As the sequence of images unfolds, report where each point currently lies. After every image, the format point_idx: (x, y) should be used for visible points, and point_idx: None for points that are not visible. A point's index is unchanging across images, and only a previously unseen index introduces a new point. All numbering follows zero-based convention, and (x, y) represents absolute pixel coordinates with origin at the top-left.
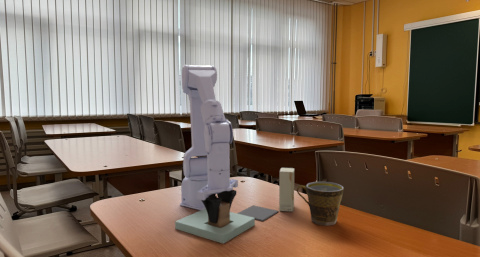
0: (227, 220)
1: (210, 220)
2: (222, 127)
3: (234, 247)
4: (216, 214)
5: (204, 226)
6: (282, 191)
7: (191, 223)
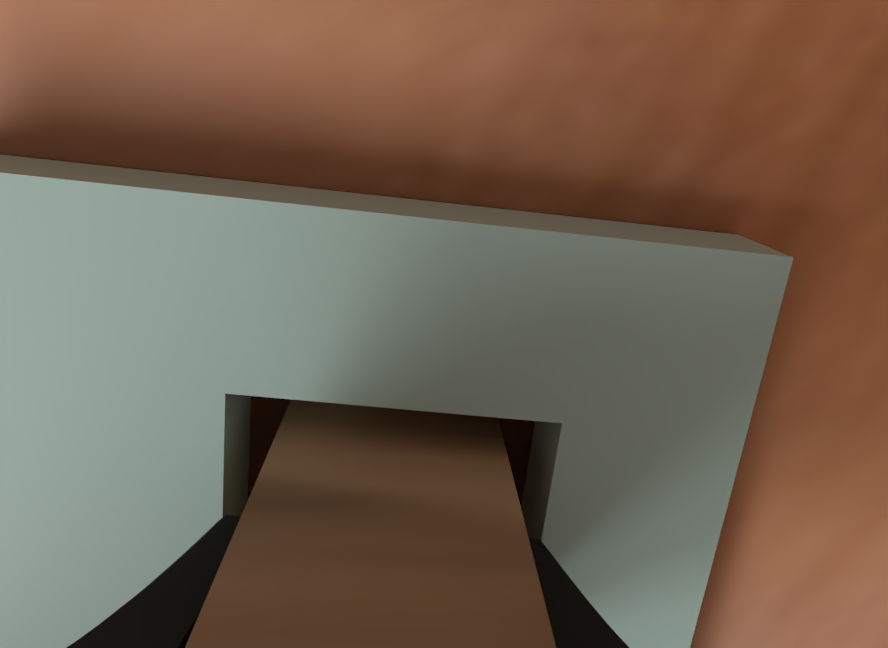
0: (329, 464)
1: None
2: None
3: (785, 46)
4: (606, 627)
5: None
6: None
7: None
